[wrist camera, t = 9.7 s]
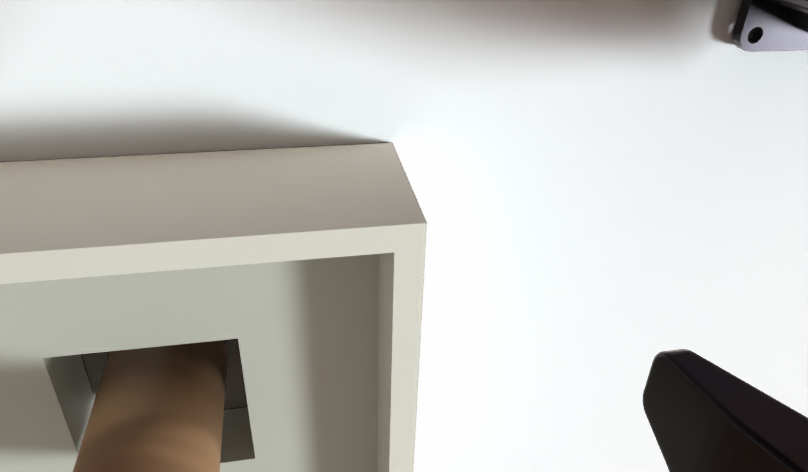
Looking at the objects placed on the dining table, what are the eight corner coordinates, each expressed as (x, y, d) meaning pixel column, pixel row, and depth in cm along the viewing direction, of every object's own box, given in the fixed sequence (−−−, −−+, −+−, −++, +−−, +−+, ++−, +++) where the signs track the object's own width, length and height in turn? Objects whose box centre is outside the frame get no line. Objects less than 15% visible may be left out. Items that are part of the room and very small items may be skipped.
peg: (220, 309, 22) (197, 552, 14) (233, 392, 24) (219, 642, 16) (97, 320, 21) (6, 582, 14) (122, 404, 23) (55, 672, 16)
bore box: (392, 142, 20) (426, 223, 16) (385, 474, 28) (407, 583, 24) (-192, 171, 17) (-339, 278, 13) (-6, 529, 25) (-58, 664, 21)
